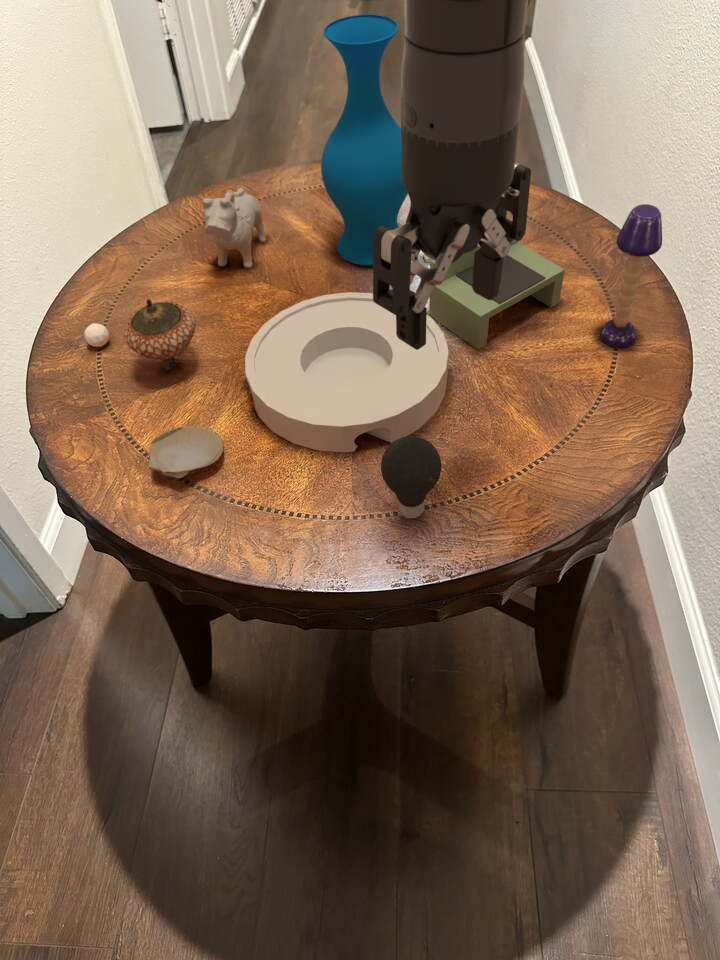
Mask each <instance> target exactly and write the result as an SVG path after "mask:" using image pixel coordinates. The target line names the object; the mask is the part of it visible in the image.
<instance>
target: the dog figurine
mask: <svg viewBox="0 0 720 960" xmlns="http://www.w3.org/2000/svg"><path fill="white" fill-rule="evenodd" d="M202 206H203V218H204V223H205V228H204V232H205V233H206V234H207V235H210V238H211V240H212V242H213V244H214V245H215V246H216V250H217V264H218V265H217V266H219V267H225V266H226V265H227V264H228V254H229V250H231V251H232V250H237V251H239V252H240V254H241V256H242V257H241V258H242V264H243V267H244V268H246V269H247V268H251V267H253V265H254V264H253V258H252V256H253V255H252V241H253V234H254V228H255V231H257V236H258V241H259V242H262V243H263V242H265V241H266V240H267V238H266V233H265V227H264V221H263V214H262V206H261V204H260V202H259V201H258V199H257V197H255V196H253V195H252V194H248V193H247V192H246V191H245V190H244V188H243V187H239V188H237V190H236V191H235V192H232V191H226V193H224V196H223V197H216V198H207V197H206V198H203V200H202Z"/></svg>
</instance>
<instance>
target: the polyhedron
mask: <svg viewBox="0 0 720 960" xmlns="http://www.w3.org/2000/svg"><path fill="white" fill-rule="evenodd" d="M83 333H84V340H85V341H86V343H87V344H88V345H91V346H92V347H93V348H95V347H96V348H97V347H98V348H101V347H103V346H104V345H106V344H107V343H108V341H109V339H110V333H109V329H107V328H106V326H105V325H103V324H101V323H95V322H93V323H91V324H90V325H88V326H87V327H86V329H85V330H84V332H83Z"/></svg>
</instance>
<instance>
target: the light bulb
mask: <svg viewBox="0 0 720 960" xmlns="http://www.w3.org/2000/svg"><path fill="white" fill-rule="evenodd" d="M442 469H443V466H442V459H441V456H440V454H439V451H438V449H437V448H436V447H435V446H434V444H432V443H431V442H430V441H429V440H427V439H425V438H423V437H420V436H414V435H408V436H406V437H402V438H399V439H397V440H395V441H394V442H393V443H391V442H390V444H389V445H388V446H387V447H386V449H385V450H384V452H383V454H382V457H381V462H380V474H381V476H382V480H383V481H384V483H385V485H386V486H387V488H388V489H389V490H390V491H391V492H392V493H394V495H395V496H396V500H397V501H398V511H399V513H400V514H401V515H402V516H403V517H404V518H407V519H416V518H418V517H420V516H421V515H423V512H424V508H425V500H426V499H427V495H428V494H429V493H431V491H432V490H433V489H435V487H436V485H437V483H438V482H439V480H440V479H441V474H442Z"/></svg>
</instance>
